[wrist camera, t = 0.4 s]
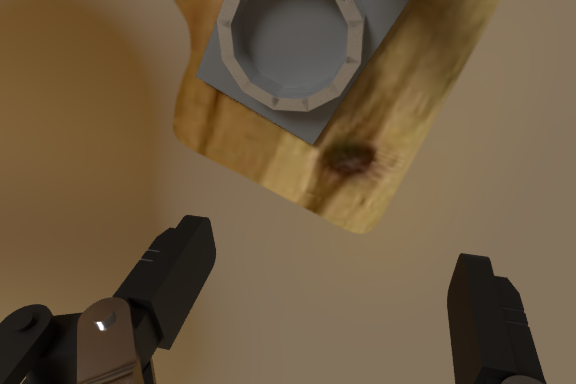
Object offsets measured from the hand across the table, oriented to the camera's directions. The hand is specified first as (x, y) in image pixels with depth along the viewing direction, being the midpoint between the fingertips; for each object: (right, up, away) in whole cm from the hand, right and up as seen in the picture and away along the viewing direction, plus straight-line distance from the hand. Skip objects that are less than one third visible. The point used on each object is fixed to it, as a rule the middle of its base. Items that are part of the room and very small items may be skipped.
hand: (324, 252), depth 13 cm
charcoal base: (0, +17, +24) cm, 29 cm away
